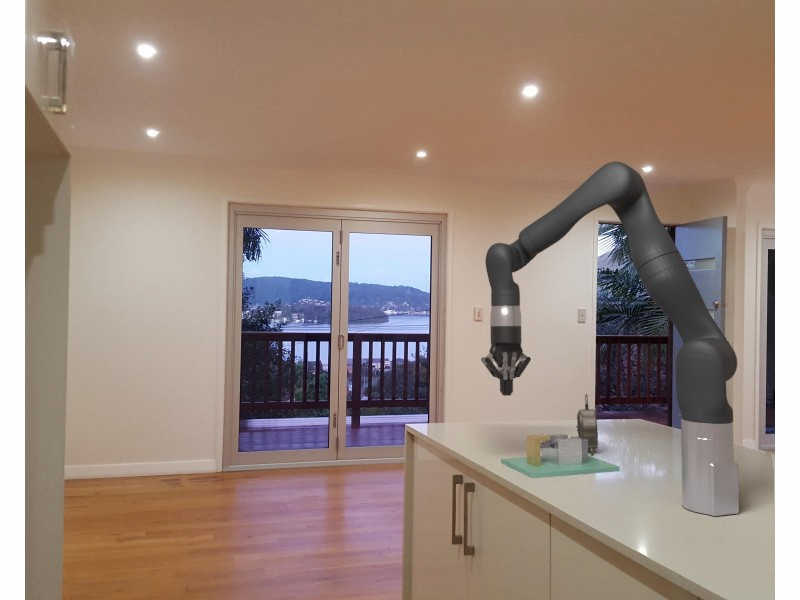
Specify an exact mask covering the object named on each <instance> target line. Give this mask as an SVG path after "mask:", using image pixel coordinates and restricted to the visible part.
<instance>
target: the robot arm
mask: <svg viewBox="0 0 800 600" xmlns="http://www.w3.org/2000/svg"><path fill="white" fill-rule="evenodd" d="M605 205H608V206H610V208H611V209H612V210H613V212H614V213H615V214H616V216H617V217H618V219H619V220H620V223H621V224H622V226H623V228H624V230H625V232H626V235H627V239H628V245H629V249H630V255H631V260H632V263H633V266H634V268H635V271H636V274H637V275H638V277H639V279H640V281H641V284H642V285H643V287H644V289H645V291H646V293H647V294H648V295H649V297H650V298H651V299H652V300H653V302H654V303H655V304H656V305H657V306H658V307H659V309H660V310H661V311H662V312H663V313H664V314H665V315H666V317H668V319H669V320H670V321H671V322H672V324H673V325H674V327H675V328H676V330H677V332H678V334H679V336H680V338H681V341H682V343H683V344H682V345H681V347H680V348H679V350H678V351H677V354H676V357H675V358H676V359H675V384H676V385H675V386H676V387H675V388H676V401H677V404H678V407H679V410H680V417H681V418H680V425H681V427H680V429H681V431H680V432H681V434H680V435H681V436H680V437H681V438H680V439H681V440H680V441H681V443H680V447H681V451H680V452H681V454H680V455H681V458H680V459H681V461H680V462H681V506H682V508H685V509H686V510H688V511H692V512H696V513H700V514H705V515H709V516H712V517H718V516H727V515H734V514H737V515H738V514H739V513H740V506H739V505H740V504H739V503H740V501H739V500H740V499H739V495H740V494H739V464H738V463H737V462H735V461H734V460H735V459H734V457H735V456H734V409H733V407H732V406H731V405H730V403H729V401H728V397H727V396H728V395H727V382H728V381H729V380H731V379H732V378H733V377H734V375H735V374H736V371H737V369H738V358H737V354H736V352H735V350H734V348H733V347H732V345H731V343H730V342H729V340H728V339H727V337H726V335H725V334H724V333H723V332H722V331H721V329H720V327H719V325H718V324H717V322H716V321H715V320H714V318H713V316H712V315H711V313H710V312H709V309H708V308H707V305H706V303H705V301H704V299H703V297H702V294H701V292H700V290H699V288H698V286H697V284H696V282H695V280H694V279H693V277H692V274H691V273H690V270H689V268H688V266H687V264H686V263H685V260H684V258H683V256H682V254H681V253H680V251H679V249H678V248H677V245H676V244H675V242H674V241H673V239H672V237H671V236H670V234H669V233H668V230H667V229H666V228H665V226H664V224H663V223H662V221H661V220H660V218H659V216H658V214H657V212H656V210H655V207H654V205H653V202H652V199H651V196H650V195H649V192H648V189H647V186H646V184H645V181H644V179H643V177H642V175H641V174H640V173H639V171H637V170H636V169H634V168H632V167H631V166H630V165H628V164H627V163H624V162H621V161H610V162H607V163H606V164H604V165H602V166H601V167H599V168H598V169H597V170H596V171H594V172H593V173H592V174H591V175H590V176H589V177H588V178H587V179H586V180H585V181H584V182H583V183H582V184H580V186H579V187H577V188H576V189H575V190H574V191H573V192H571V194H569V195H568V196H567V197H566V198H565V199H563V200H562V201H561V202H560V203H559V204H558V205H556V206H555V207H554V208H552V209H551V210H549V211H548V212H547V213H545V214H543V215H542V216H541V217H539V218H537V219H536V220H534V221H533V222H531V223H530V224H529V225H527V226H525V227H524V228H523V229H522V230H520V232H519V233H518V238H517V239H516V240H515V241H513V242H512V243H509V244H508V243H504V242H503V243H502V242H497V243H493V244H491V245H490V247H489V248H488V249H487V251H486V255H485V268H486V274H487V279H488V282H489V286H490V289H491V290H490V291H491V292H490V293H491V295H490V298H491V299H490V301H491V303H490V305H491V307H490V309H491V310H490V314H489V315H490V317H489V318H490V319H489V320H490V321H489V324H490V327H489V328H490V349H489V351H488V352H489V353H488V354H487V355H486V356H483V357H481V359H480V360H481V362H482V364H483V365H484V366H485V367H486V369H487V370H488V372H489V373H490V375H491V376H492V377H493V378H496V379H498V380H499V392H500V393H501V395H502V396H512V394H513V392H514V379H516V378H520V377H521V376H522V374H523V373H524V371H525V370H526V368H527V367H528V365H529V363H530V362H531V360H532V359H531V357H530V356H527V355H526V354H525V353H524V351H523V347H522V311H521V293H520V292H521V289H520V286H519V284H518V283H517V282H515V280H514V278H513V277H514V276H513V273H515V272H518V271H520V270H521V269H523V268H524V267H526V266H527V265H528V264H530V262H531V261H533V260H534V258H536V256H537V255H538V254H540V253H543V252H544V251H545V250H547V249H548V248H550V247H551V246H553V245H554V244H556V243H558V242H560V241H561V240H562V239H563V238H564V237H566V235H567V234H569V232H570V231H571V230H572V229H573V227H574V226H575V225H576V224H577V223H578V222H580V220H581V219H583V218H584V217H586V216H587V215H588V214H590V213H591V212H593V211H594V210H597V209H599V208H602V207H604V206H605ZM494 362H495V364H496V365H495V364H494Z"/></svg>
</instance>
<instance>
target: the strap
mask: <svg viewBox="0 0 800 600" xmlns="http://www.w3.org/2000/svg"><path fill="white" fill-rule="evenodd" d="M550 447H555V442H549V443H544V442H542V441H541V449H542V448H550Z"/></svg>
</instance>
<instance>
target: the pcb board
mask: <svg viewBox="0 0 800 600" xmlns="http://www.w3.org/2000/svg"><path fill="white" fill-rule="evenodd" d="M500 462H501V464H503V465H505V466H507V467H510V468H511V469H513V470H515V471H518V472H520V473H522V474H524V475H526V476H528V477H530V478H532V479H535V478H548V477H559V476H572V475H585V474H595V473H606V472H607V473H609V472H620V470H621V469H620V466H619V465H616V464H613V463H610V462H608V461H605V460H602V459H599V458H596V457H593V456H592V455H591V456H590V455H588V463H582V465H578V466H565V467H558V466H555V465H553V464H551V463H548V462H546V461H543V460H542V455H541V466H533V465H531V464H528V463H527V456H526V457H525V456H524V457H513V458H512V457H510V458H509V457H508V458H501V459H500Z"/></svg>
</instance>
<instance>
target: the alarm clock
mask: <svg viewBox="0 0 800 600" xmlns="http://www.w3.org/2000/svg"><path fill="white" fill-rule="evenodd" d="M584 397H585V399H584V402H585V404H584V407H585V408H583V409H582V408H581V409H579V410H578V411H577V415H576V419H577V422H576V423H577V425H576V426H575V428H577V436H578V437H580V439H588V450H590V455H591V456H593V455H594V450H597V449H598V446H599V432H598V421H597V416H596V415H597V414H596V410H595V409H594V408H590V407H589V396H588V394H587V393H586V394H585V396H584Z"/></svg>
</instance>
